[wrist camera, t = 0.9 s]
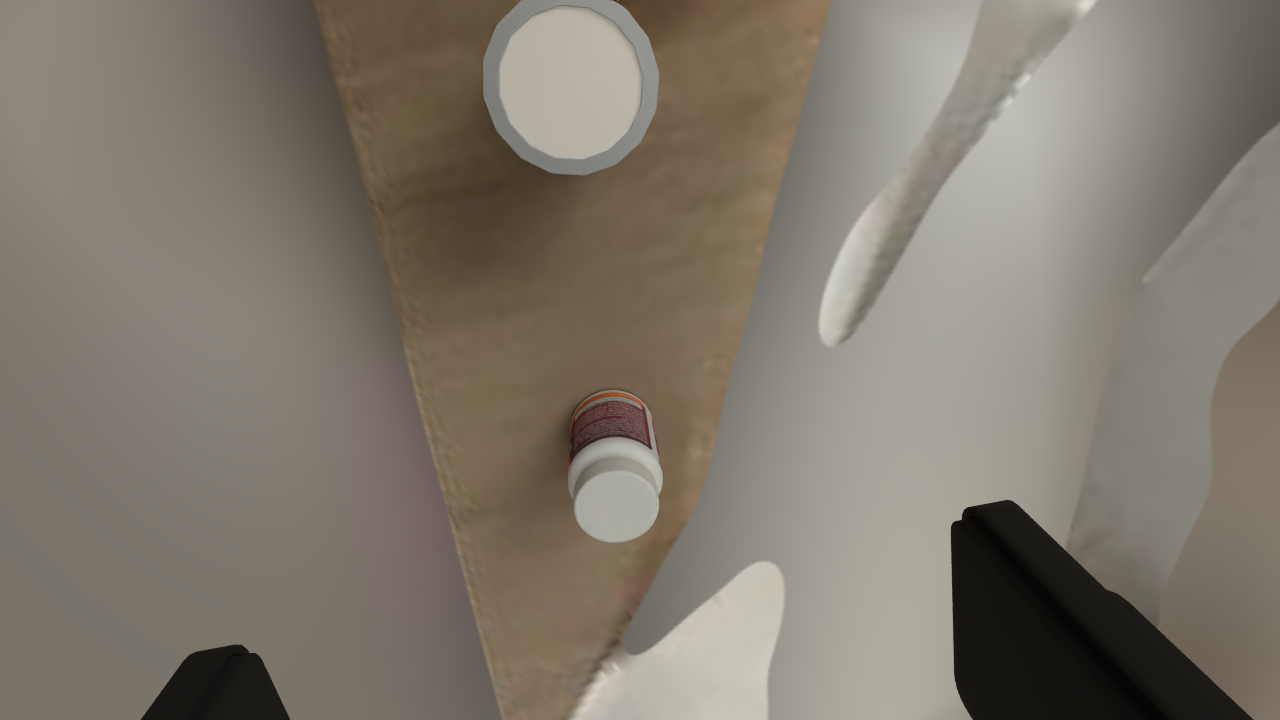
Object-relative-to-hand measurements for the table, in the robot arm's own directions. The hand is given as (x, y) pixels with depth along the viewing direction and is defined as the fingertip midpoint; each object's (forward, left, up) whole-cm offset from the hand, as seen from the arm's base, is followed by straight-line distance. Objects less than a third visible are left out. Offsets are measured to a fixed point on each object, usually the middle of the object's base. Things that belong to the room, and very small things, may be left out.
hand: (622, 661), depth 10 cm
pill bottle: (+10, -5, -29) cm, 31 cm away
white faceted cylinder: (-7, +2, -29) cm, 30 cm away
